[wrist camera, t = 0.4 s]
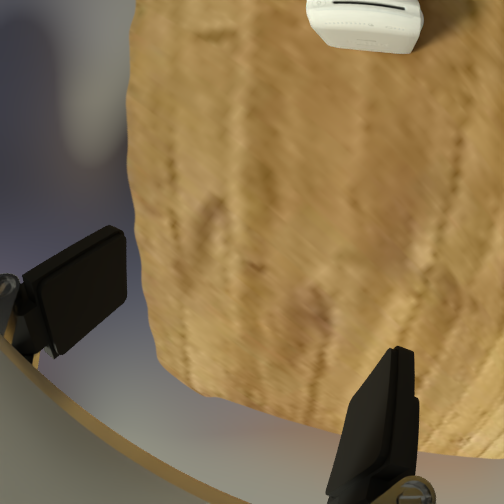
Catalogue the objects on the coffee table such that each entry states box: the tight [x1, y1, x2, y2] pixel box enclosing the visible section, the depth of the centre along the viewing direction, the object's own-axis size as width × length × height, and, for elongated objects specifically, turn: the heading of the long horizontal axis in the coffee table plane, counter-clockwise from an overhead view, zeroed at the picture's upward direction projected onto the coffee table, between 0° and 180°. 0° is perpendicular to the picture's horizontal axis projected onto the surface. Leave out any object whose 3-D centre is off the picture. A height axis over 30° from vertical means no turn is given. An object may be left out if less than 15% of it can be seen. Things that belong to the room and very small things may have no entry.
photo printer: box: [306, 0, 424, 54], centre depth 22 cm, size 10×4×12 cm, turn 90°
